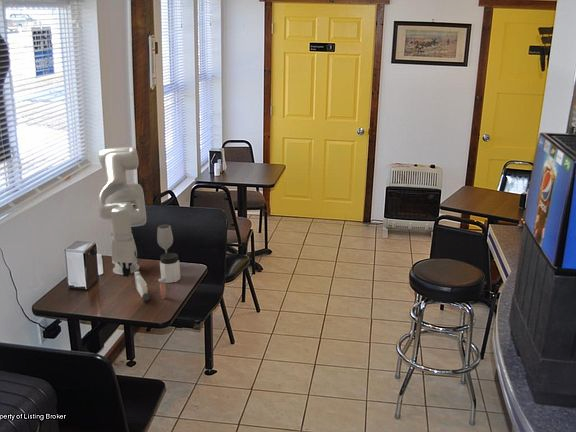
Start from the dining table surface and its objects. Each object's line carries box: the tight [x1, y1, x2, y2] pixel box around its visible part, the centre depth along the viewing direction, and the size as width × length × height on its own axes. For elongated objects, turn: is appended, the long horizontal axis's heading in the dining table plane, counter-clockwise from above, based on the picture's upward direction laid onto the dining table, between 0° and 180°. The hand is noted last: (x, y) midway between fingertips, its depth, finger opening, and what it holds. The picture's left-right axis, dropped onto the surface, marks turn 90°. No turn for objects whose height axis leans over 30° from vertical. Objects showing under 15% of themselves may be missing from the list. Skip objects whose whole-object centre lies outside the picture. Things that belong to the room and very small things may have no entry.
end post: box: [157, 277, 168, 300], centre depth 278 cm, size 3×3×9 cm
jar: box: [159, 252, 181, 284], centre depth 297 cm, size 9×8×12 cm
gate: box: [134, 270, 151, 302], centre depth 282 cm, size 16×3×8 cm, turn 26°
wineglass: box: [156, 224, 174, 253], centre depth 311 cm, size 8×8×21 cm
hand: (127, 275), depth 276 cm, fingers closed
